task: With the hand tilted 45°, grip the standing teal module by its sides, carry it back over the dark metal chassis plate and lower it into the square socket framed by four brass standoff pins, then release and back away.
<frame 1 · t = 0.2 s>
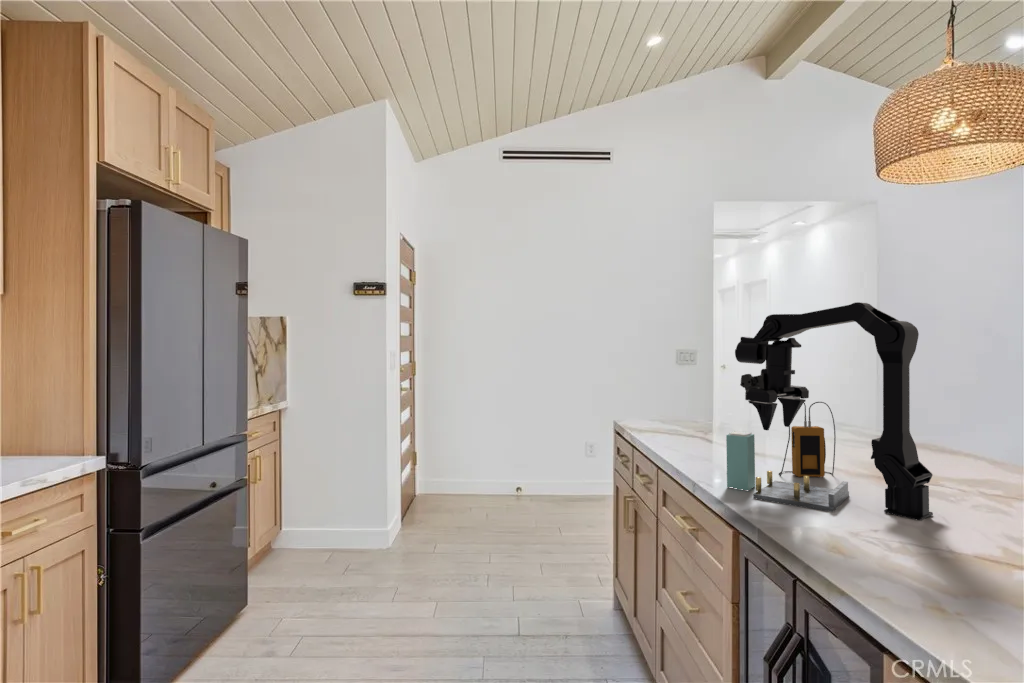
hand: (776, 428, 136), 14 cm above the table, tool pointing down, fingers open, 9 cm apart
module: (741, 487, 135), on the table
chassis: (782, 494, 129), on the table
multimeter: (802, 473, 150), on the table
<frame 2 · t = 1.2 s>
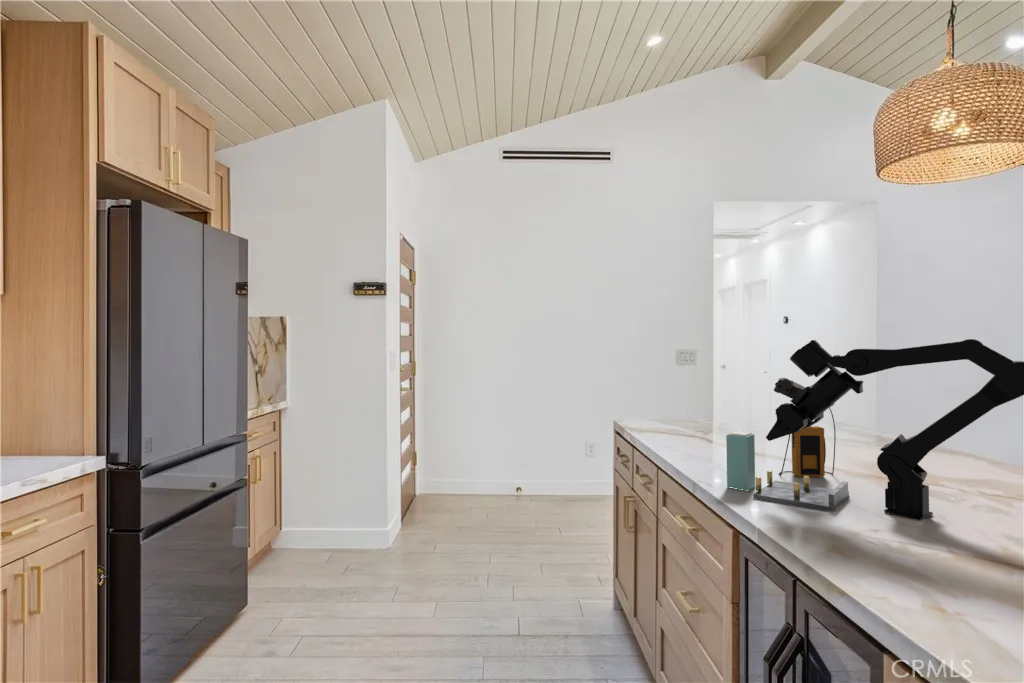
hand: (773, 436, 130), 13 cm above the table, tool tilted 45°, fingers open, 9 cm apart
nothing on the table moved.
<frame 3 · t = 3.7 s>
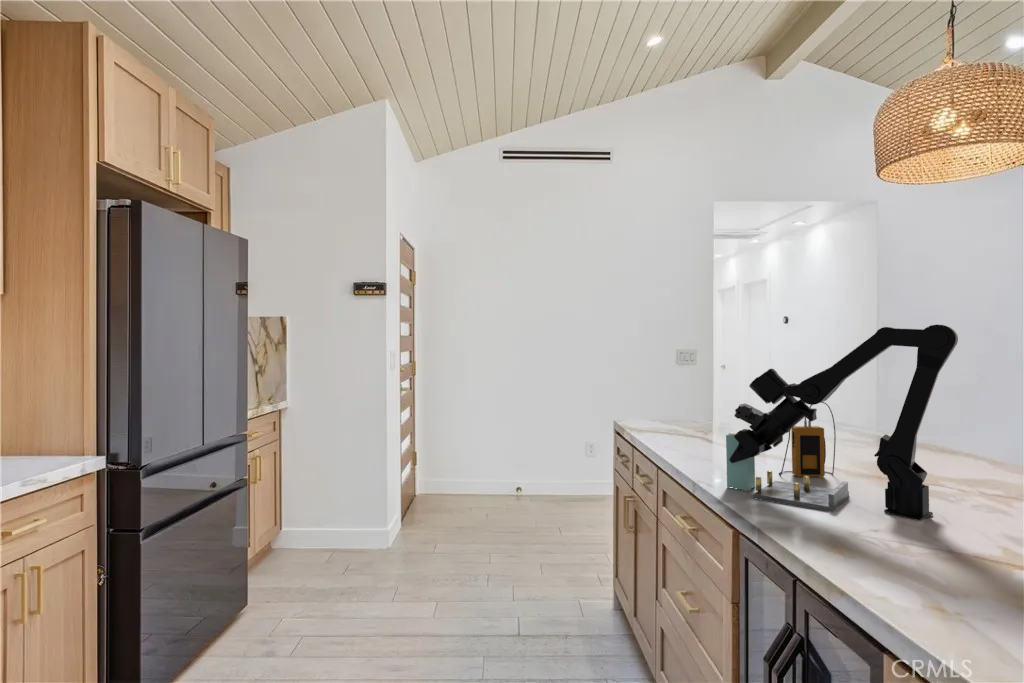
hand: (734, 459, 136), 7 cm above the table, tool tilted 45°, fingers closed on module, 5 cm apart
module: (741, 487, 135), on the table, touching gripper
everything else where it was.
when the fingers open (9 cm above the table, at t = 7.2 s): module drops 1 cm, resting on chassis.
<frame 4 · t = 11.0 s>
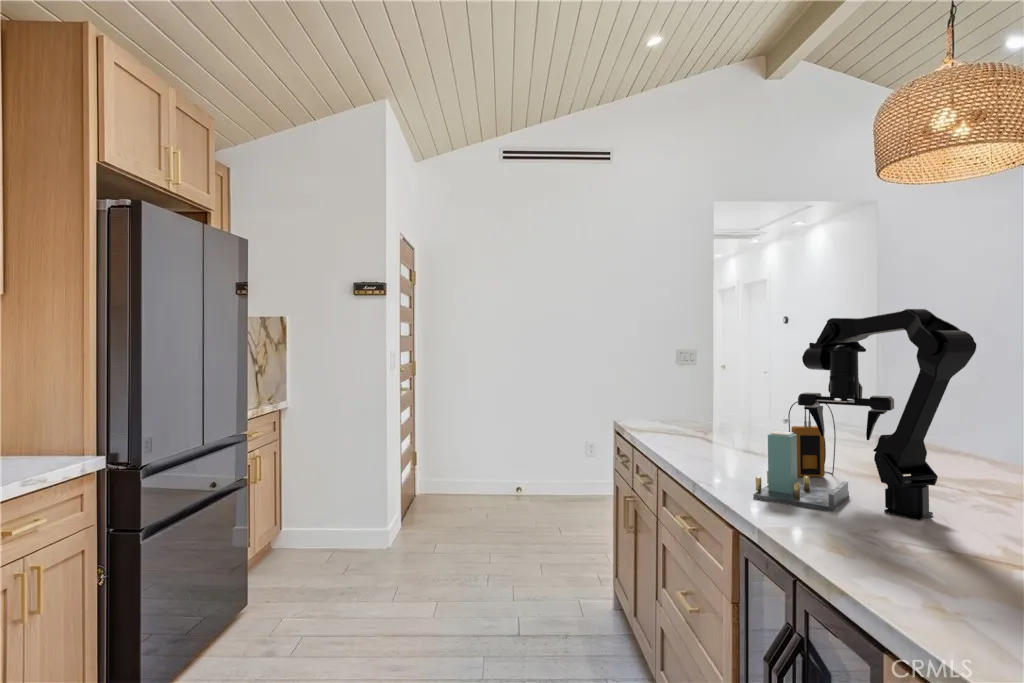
hand: (845, 438, 129), 13 cm above the table, tool pointing down, fingers open, 9 cm apart
module: (783, 489, 129), point 1 cm above the table, touching chassis
everything else where it was.
at the end: module 0.1 cm off-centre on the chassis, point 1.0 cm above the chassis's base; module tilted 0°; the gripper is holding nothing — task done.
